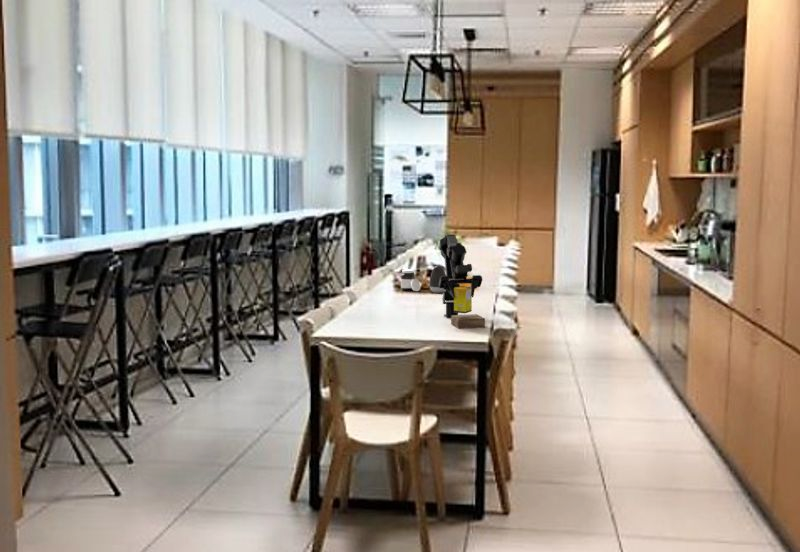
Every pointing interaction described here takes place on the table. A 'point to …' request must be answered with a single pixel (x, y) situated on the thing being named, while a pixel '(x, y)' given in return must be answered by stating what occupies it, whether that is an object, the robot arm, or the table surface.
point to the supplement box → (463, 299)
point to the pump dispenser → (436, 279)
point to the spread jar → (409, 281)
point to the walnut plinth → (467, 321)
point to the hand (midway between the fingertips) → (463, 297)
